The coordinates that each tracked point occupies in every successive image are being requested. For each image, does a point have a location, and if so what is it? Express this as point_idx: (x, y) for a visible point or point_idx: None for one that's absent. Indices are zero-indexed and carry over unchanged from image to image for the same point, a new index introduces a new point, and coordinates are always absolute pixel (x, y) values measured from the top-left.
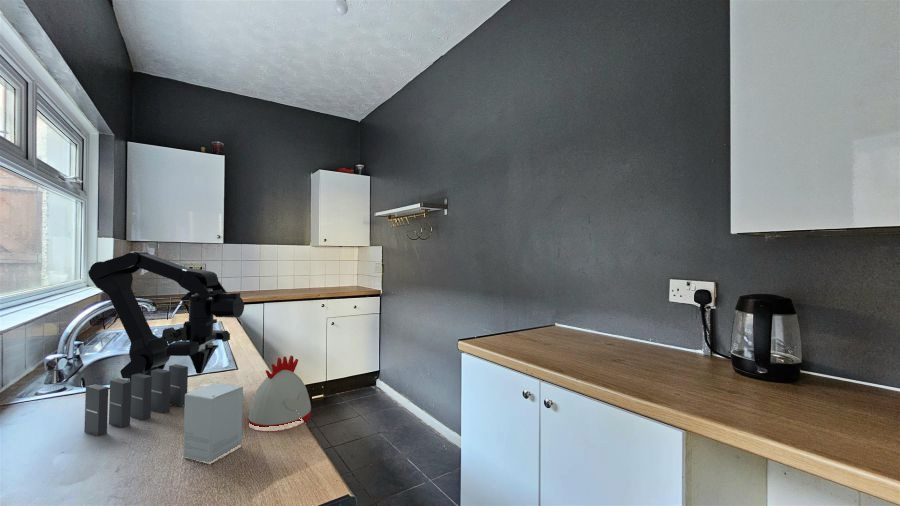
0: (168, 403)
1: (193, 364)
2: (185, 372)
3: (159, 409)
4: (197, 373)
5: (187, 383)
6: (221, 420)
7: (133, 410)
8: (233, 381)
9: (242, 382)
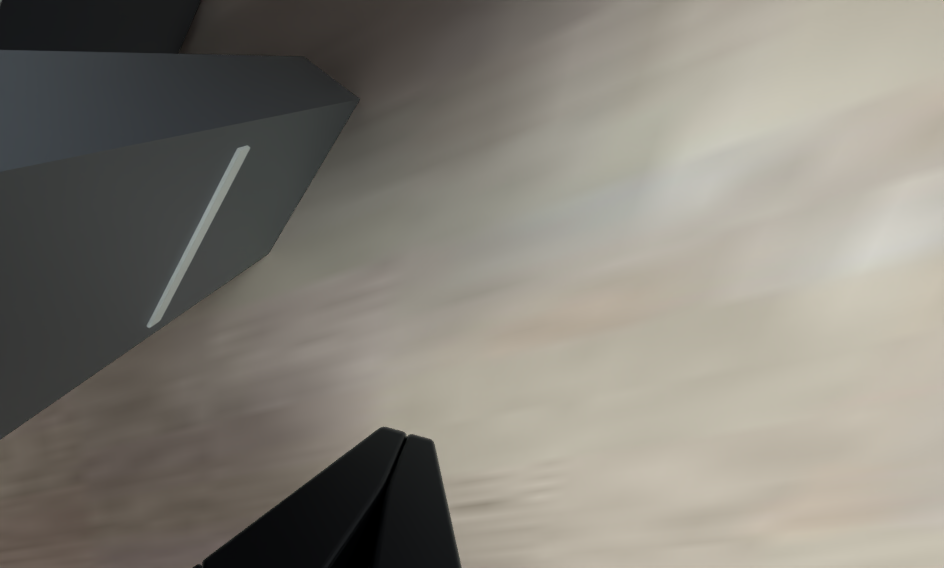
0: None
1: (243, 534)
2: None
3: None
4: (384, 433)
5: (117, 357)
6: None
7: None
8: (884, 480)
9: (803, 551)
